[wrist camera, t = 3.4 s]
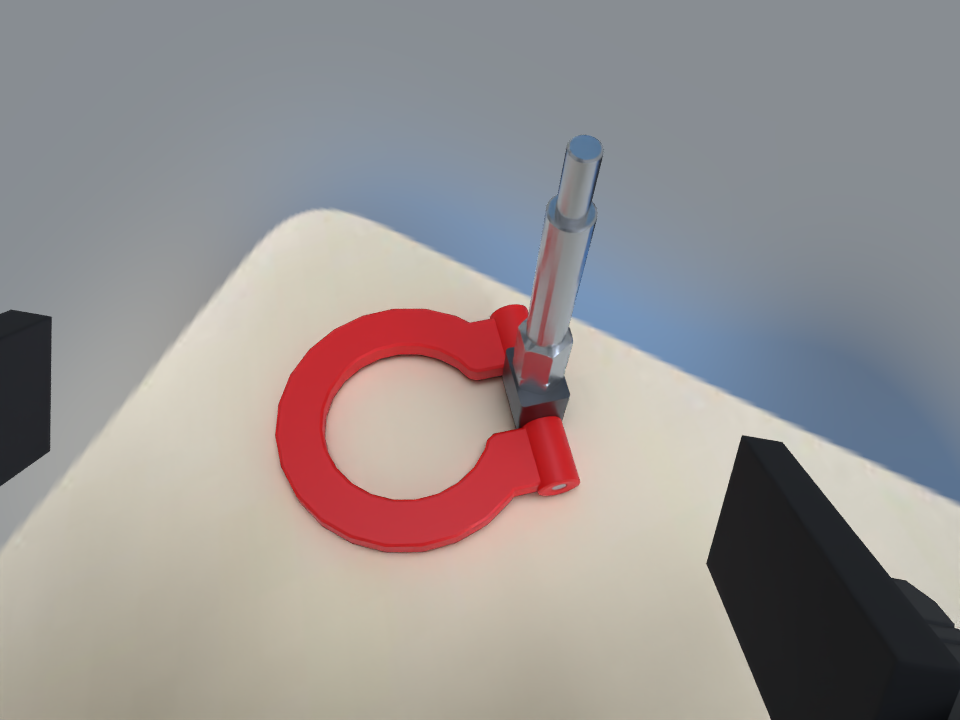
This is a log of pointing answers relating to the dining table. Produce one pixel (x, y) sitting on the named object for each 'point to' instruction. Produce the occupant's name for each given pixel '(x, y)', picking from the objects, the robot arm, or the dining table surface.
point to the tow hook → (478, 355)
